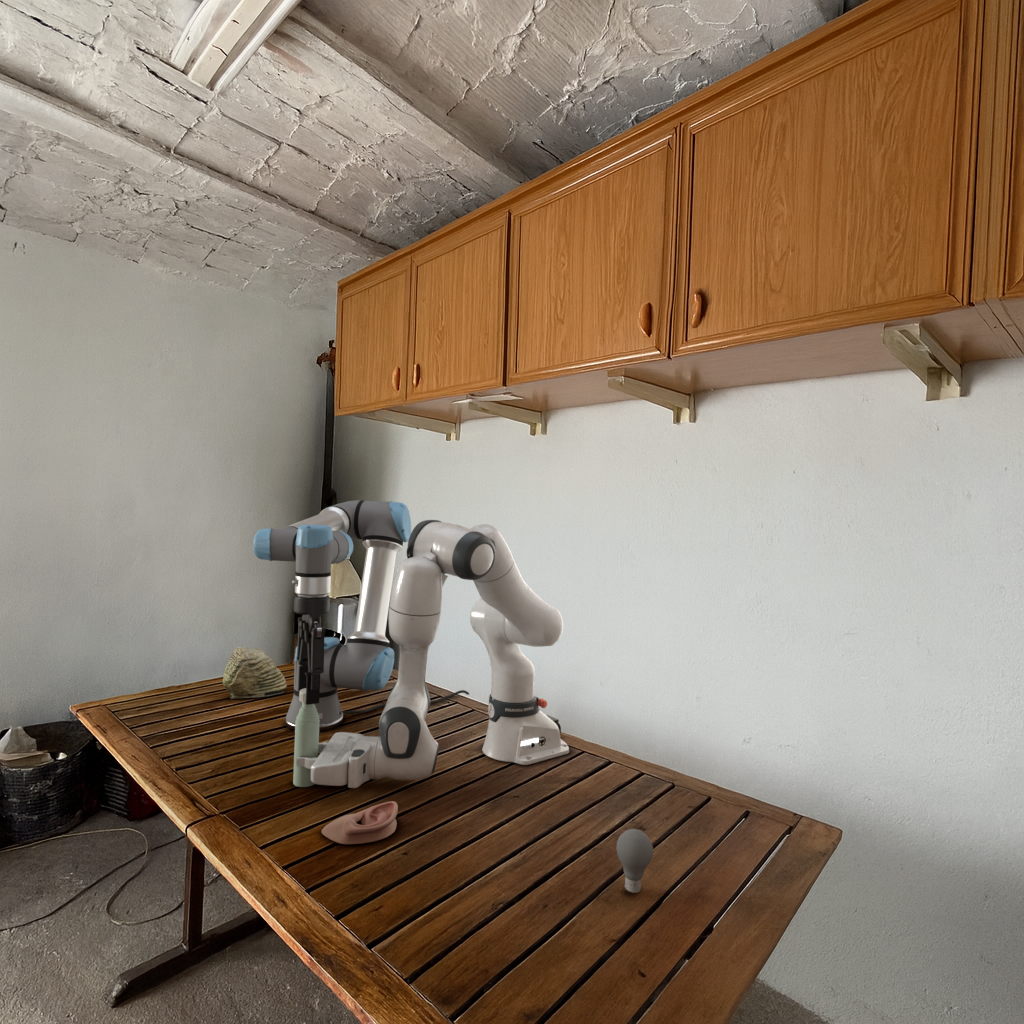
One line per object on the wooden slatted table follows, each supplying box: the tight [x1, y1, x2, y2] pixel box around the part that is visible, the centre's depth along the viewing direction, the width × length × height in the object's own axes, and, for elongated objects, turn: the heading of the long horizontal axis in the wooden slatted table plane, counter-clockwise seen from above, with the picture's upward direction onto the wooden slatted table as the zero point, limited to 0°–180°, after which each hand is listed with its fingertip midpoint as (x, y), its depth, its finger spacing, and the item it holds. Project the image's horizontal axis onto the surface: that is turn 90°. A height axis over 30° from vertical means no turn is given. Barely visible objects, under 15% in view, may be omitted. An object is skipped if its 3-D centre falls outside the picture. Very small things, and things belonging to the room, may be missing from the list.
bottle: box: [292, 702, 320, 788], centre depth 140 cm, size 5×5×20 cm
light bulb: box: [615, 828, 654, 894], centre depth 106 cm, size 6×6×10 cm
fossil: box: [222, 646, 288, 699], centre depth 198 cm, size 9×18×15 cm, turn 132°
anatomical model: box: [321, 800, 399, 845], centre depth 121 cm, size 13×4×12 cm
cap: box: [299, 688, 306, 702], centre depth 140 cm, size 4×4×2 cm
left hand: (308, 698), depth 140 cm, fingers open, 6 cm apart
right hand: (302, 754), depth 140 cm, fingers closed on bottle, 5 cm apart
